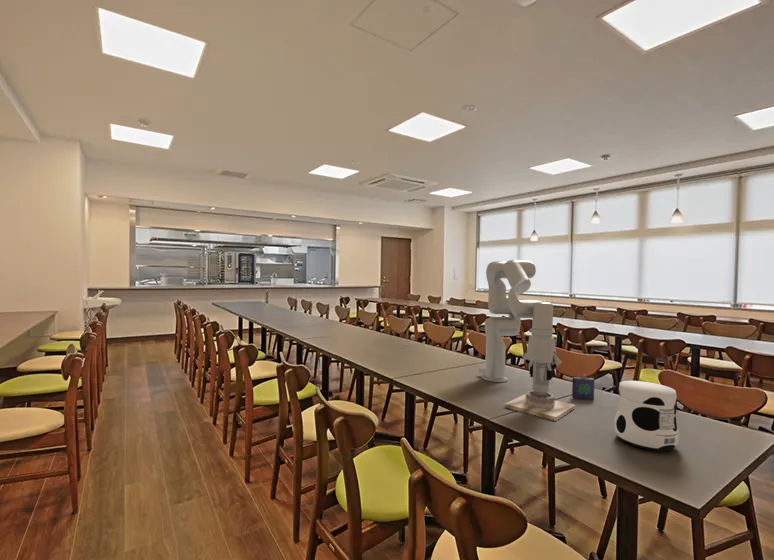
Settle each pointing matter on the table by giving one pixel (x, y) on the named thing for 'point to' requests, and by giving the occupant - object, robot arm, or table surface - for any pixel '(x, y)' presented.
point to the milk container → (647, 415)
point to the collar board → (538, 411)
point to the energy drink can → (540, 377)
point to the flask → (583, 387)
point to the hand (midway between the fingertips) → (540, 377)
